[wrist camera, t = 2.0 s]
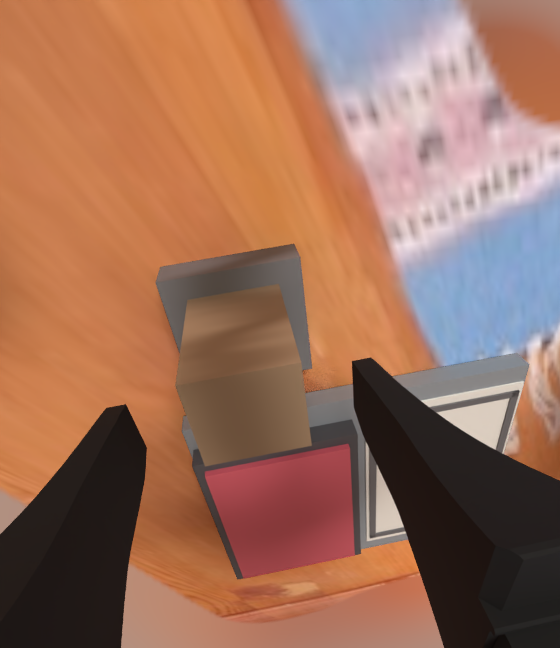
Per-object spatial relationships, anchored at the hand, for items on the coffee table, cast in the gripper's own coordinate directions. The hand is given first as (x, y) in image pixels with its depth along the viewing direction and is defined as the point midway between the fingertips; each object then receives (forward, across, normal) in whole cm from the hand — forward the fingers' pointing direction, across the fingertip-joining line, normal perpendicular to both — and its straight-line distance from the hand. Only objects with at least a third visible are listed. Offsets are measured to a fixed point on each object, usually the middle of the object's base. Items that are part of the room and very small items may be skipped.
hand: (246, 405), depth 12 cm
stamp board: (+6, -5, +13) cm, 15 cm away
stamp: (+6, 0, 0) cm, 6 cm away
